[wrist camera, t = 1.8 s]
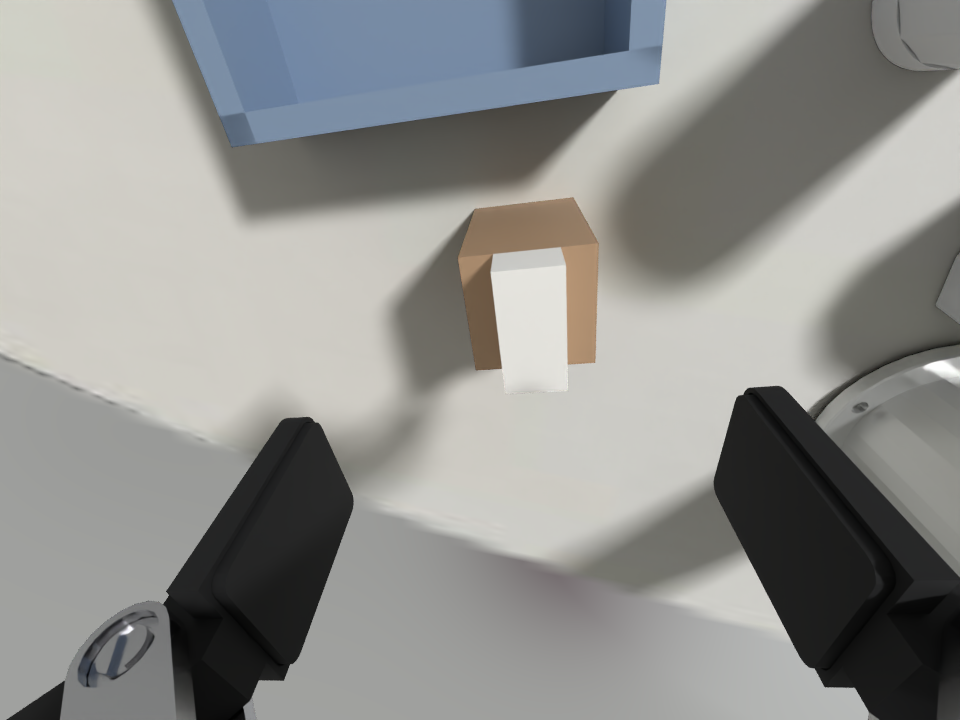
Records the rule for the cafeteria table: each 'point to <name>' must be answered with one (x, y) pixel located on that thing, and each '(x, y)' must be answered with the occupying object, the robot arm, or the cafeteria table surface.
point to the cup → (918, 33)
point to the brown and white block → (531, 292)
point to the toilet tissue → (951, 293)
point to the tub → (409, 58)
